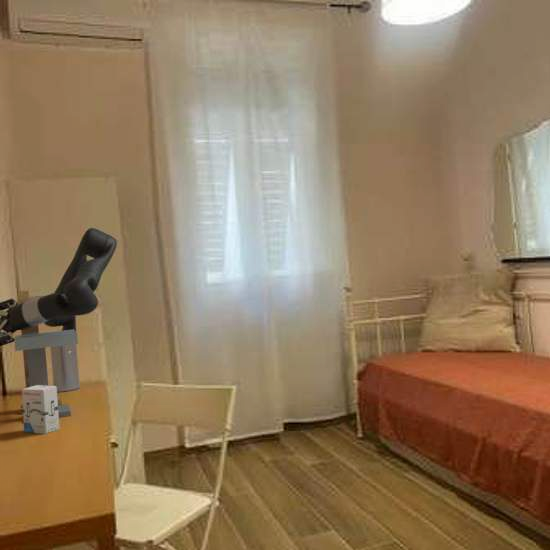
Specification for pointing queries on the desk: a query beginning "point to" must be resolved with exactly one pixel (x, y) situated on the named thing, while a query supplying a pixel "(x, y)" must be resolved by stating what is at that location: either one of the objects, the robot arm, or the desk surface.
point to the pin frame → (44, 356)
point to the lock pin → (25, 296)
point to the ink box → (40, 409)
